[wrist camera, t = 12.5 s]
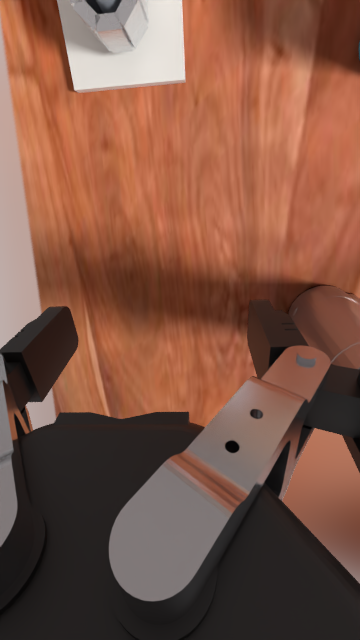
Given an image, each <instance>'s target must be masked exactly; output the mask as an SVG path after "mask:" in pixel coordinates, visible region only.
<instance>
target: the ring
mask: <svg viewBox="0 0 360 640" xmlns="http://www.w3.org/2000/svg"><path fill="white" fill-rule="evenodd" d="M70 4H71V5H72V6H73V9H74V10H75V12H76V13H77V14H78V16H79V17H80V18H81V19H82V21H83V22H84V23H85V25H86V26H87V27H88V28H89V30H90V31H91V32H92V34H93V35H94V36H95V37H96V38H97V39H98V40H99V41H100V42H101V43H102V44H103V45H104V46H105V47H106V48H107V49H108V50H109V51H110V52H111V51H112V53H122V52H130V51H133V47H134V48H135V49H136V48H137V46H138V44H139V43H140V41H141V39H142V37H143V36H144V34H145V32H146V30H147V29H148V26H147V23H149V18H148V7H147V0H122V1H121V3H120V5H119V7H118V8H117V10H116V12H112V13H105V14H99V10H98V3H97V2H96V0H70Z"/></svg>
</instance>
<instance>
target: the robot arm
mask: <svg viewBox="0 0 360 640" xmlns="http://www.w3.org/2000/svg"><path fill="white" fill-rule="evenodd" d="M247 339H248V346H249V349H250V353H251V356H252V360H253V363H254V367H255V370H256V374H257V377H258V378H257V377H254V376H252V377H250V378H249V379H248V380H247V381H246V382H245V383H244V384H243V386H242V387H241V388H240V389H239V390H238V391H237V392H236V393H235V395H234V396H233V397H232V398H231V399H230V400H229V401H228V402H227V404H226V405H225V406H224V407H223V408H222V409H221V410H220V411H219V413H218V414H217V415H216V416H215V417H214V418H213V419H212V421H211V422H210V423H209V424H208V425H207V426H206V427H203V426H200V425H197V424H194V423H190V422H189V412H154V413H150V414H145V415H140V416H135V417H130V418H126V419H117V418H113V417H108V416H104V415H100V414H95V413H91V412H85V413H59V415H58V417H57V419H56V421H55V423H53V424H49V425H46V426H43V427H41V428H38V429H35V430H33V429H32V424H31V420H30V417H29V412H28V410H27V408H26V406H25V405H26V404H27V403H28V402H42V401H43V400H44V398H45V397H46V395H47V394H48V392H49V391H50V389H51V388H52V386H53V385H54V383H55V382H56V380H57V379H58V377H59V375H60V374H61V372H62V371H63V369H64V368H65V366H66V365H67V363H68V362H69V360H70V359H71V357H72V356H73V354H74V353H75V351H76V349H77V347H78V335H77V332H76V328H75V325H74V321H73V318H72V314H71V311H70V309H69V308H68V307H67V306H62V307H49V308H47V309H46V310H45V311H44V312H43V313H42V314H41V315H40V316H39V317H38V318H37V319H35V320H34V321H32V322H30V323H28V324H27V325H26V326H25V327H24V328H23V329H22V330H21V332H18V333H17V335H15V337H13V338H12V339H11V340H10V341H9V342H8V343H7V344H6V345H4V346H3V347H2V348H1V349H0V640H360V584H359V583H358V581H357V580H356V579H355V578H354V577H353V576H352V575H351V574H350V573H349V572H348V571H347V570H346V569H345V568H344V567H343V566H342V565H341V563H340V562H339V561H338V560H337V559H336V558H335V557H334V556H333V555H332V554H331V553H330V552H329V551H328V550H327V549H326V547H325V546H324V545H323V544H322V543H321V542H320V541H319V540H318V539H317V538H316V537H315V536H314V535H313V534H312V533H311V532H310V531H309V529H308V528H307V527H306V526H305V525H304V524H303V523H302V522H301V521H300V520H299V519H298V518H297V517H296V516H295V515H294V513H293V512H292V511H291V510H290V509H289V508H288V507H287V506H286V505H285V504H284V503H283V502H282V499H283V497H284V495H285V492H286V490H287V488H288V485H289V482H290V479H291V476H292V474H293V471H294V469H295V466H296V464H297V462H298V460H299V458H300V456H301V454H302V452H303V450H304V448H305V446H306V444H307V442H308V440H309V438H310V436H311V434H312V432H313V430H314V428H317V429H321V430H325V431H329V432H333V433H337V434H340V435H342V436H343V438H344V440H345V442H346V444H347V447H348V449H349V451H350V453H351V455H352V457H353V459H354V461H355V464H356V466H357V468H358V470H359V472H360V299H359V298H358V297H357V296H356V295H354V294H347V293H345V292H344V291H342V290H341V289H339V288H337V287H334V286H318V287H314V288H311V289H309V290H307V291H305V292H304V293H302V294H301V295H300V296H298V297H297V298H296V299H295V301H294V302H293V303H292V305H291V307H290V309H289V313H288V314H286V313H285V312H283V311H282V310H275V311H274V309H273V307H272V305H271V303H270V301H269V300H250V303H249V315H248V330H247Z"/></svg>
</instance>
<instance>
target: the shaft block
mask: <svg viewBox="0 0 360 640" xmlns="http://www.w3.org/2000/svg"><path fill="white" fill-rule="evenodd" d="M121 1H122V0H96V2H97V3H98V10H99V14H105V13H112V12H116V10H117V8H118V7H119V5H120V3H121ZM57 3H58V8H59V13H60V18H61V23H62V29H63V34H64V39H65V44H66V49H67V54H68V59H69V64H70V70H71V75H72V80H73V85H74V90H75V91H76V92H78V93H83V92H93V91H104V90H114V89H124V88H135V87H145V86H155V85H166V84H176V83H185V60H184V37H183V13H182V0H147V7H148V18H149V23H147V26H148V29H147V30H146V32H145V34H144V36H143V37H142V39H141V41H140V43H139V44H138V46H137V48H136V49H135V48H134V47H133V51H130V52H122V53H112V51H111V52H110V51H109V50H108V49H107V48H106V47H105V46H104V45H103V44H102V43H101V42H100V41H99V40H98V39H97V38H96V37H95V36H94V35H93V34H92V32H91V31H90V30H89V28H88V27H87V26H86V25H85V23H84V22H83V21H82V19H81V18H80V17H79V16H78V14H77V13H76V12H75V10H74V9H73V6H72V5H71V4H70V0H57Z"/></svg>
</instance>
